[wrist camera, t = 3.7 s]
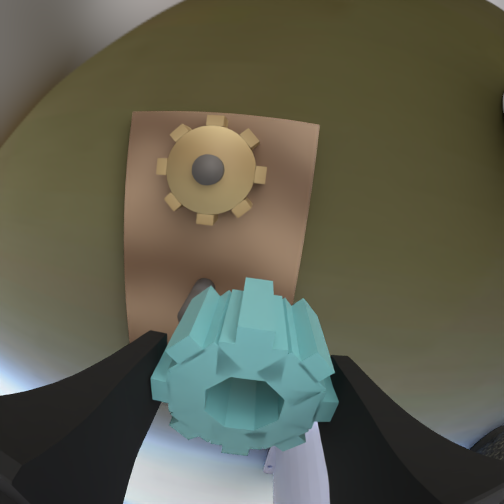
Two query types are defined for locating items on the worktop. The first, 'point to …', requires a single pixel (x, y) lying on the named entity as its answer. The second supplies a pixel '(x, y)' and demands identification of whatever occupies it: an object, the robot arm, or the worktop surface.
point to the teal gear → (246, 370)
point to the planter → (492, 445)
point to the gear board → (206, 245)
